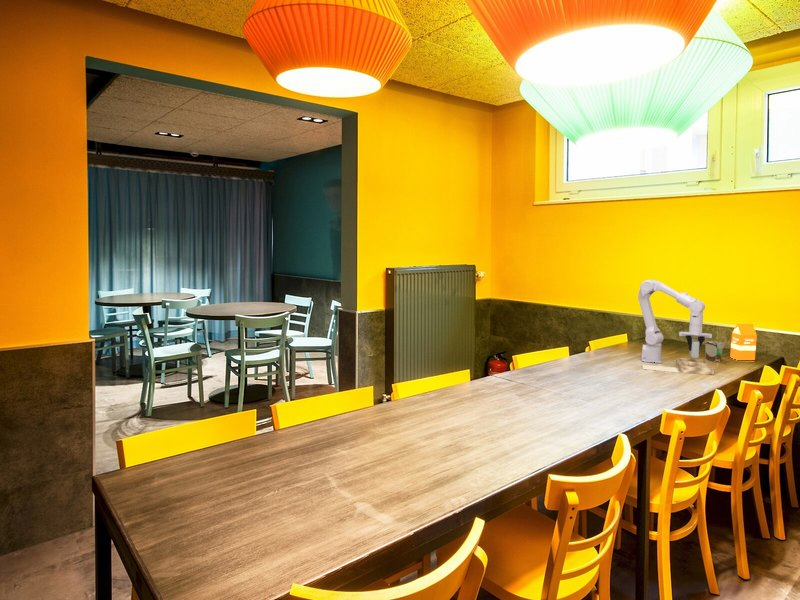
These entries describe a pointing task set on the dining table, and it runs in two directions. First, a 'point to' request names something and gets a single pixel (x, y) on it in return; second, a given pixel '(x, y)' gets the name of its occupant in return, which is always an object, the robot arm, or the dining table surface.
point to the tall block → (694, 349)
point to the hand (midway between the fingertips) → (694, 350)
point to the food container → (714, 350)
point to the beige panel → (660, 368)
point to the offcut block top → (694, 364)
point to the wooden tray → (683, 367)
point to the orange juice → (743, 342)
